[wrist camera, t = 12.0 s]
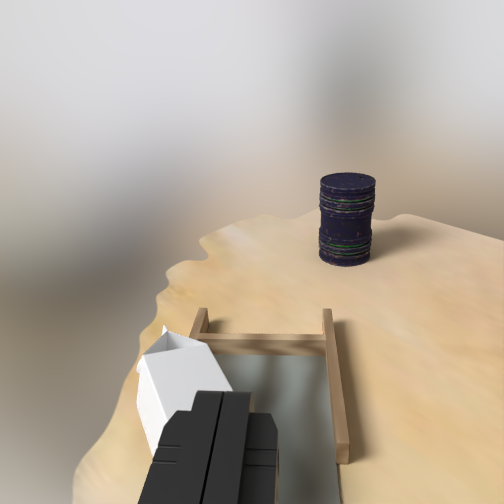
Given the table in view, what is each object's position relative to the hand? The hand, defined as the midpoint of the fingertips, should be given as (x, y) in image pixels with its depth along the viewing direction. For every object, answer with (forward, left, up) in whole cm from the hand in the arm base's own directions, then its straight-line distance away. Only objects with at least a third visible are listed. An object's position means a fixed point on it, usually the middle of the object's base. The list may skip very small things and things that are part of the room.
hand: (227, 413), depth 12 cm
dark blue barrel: (-11, -66, -29) cm, 73 cm away
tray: (+3, -29, -29) cm, 41 cm away
